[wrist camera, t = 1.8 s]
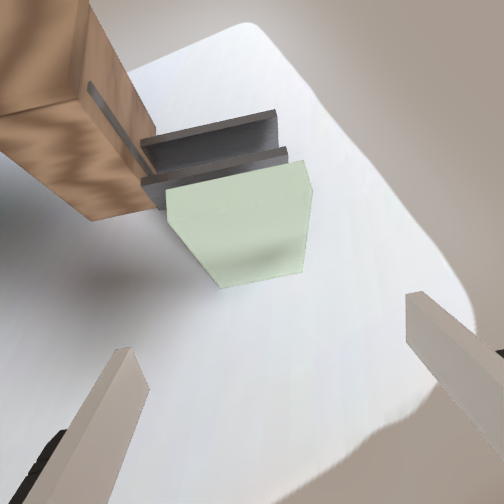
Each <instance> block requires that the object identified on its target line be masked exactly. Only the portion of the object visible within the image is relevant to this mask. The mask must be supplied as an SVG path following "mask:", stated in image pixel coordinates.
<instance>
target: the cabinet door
mask: <svg viewBox="0 0 504 504" xmlns="http://www.w3.org/2000/svg"><path fill="white" fill-rule="evenodd" d="M312 195H313V189H312V186H311V183H310V179H309V176H308V173H307V170H306V167H305V163H304V160H301V161H296V162H292V163H287V164H283V165H278V166H273V167H269V168H264V169H260V170H255V171H250V172H246V173H241V174H236V175H232V176H227V177H223V178H218V179H213V180H209V181H204V182H199V183H195V184H190V185H186V186H181V187H176V188H172V189H167V190H166V205H167V222H168V223H169V224H170V226H171V227H172V228H173V229H174V231H175V232H176V233H177V234H178V236H179V237H180V238H181V239H182V241H183V242H184V243H185V244H186V246H187V247H188V248H189V249H190V251H191V252H192V253H193V254H194V256H195V257H196V258H197V259H198V261H199V262H200V263H201V265H202V266H203V267H204V268H205V270H206V271H207V272H208V273H209V275H210V276H211V277H212V278H213V280H214V281H215V282H216V283H217V285H218V286H219V287H220V288H221V289H222V288H227V287H232V286H237V285H242V284H247V283H252V282H257V281H262V280H267V279H272V278H277V277H282V276H287V275H292V274H297V273H302V272H303V264H304V256H305V249H306V241H307V234H308V226H309V218H310V211H311V203H312Z"/></svg>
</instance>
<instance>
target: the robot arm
mask: <svg viewBox="0 0 504 504" xmlns="http://www.w3.org/2000/svg"><path fill="white" fill-rule="evenodd" d="M406 343H407V344H408V345H409V346H410V348H411V349H412V350H413V351H414V353H415V354H416V355H417V356H418V358H419V359H420V360H421V361H422V362H423V364H424V365H425V366H426V367H427V369H428V370H429V371H430V372H431V373H432V375H433V376H434V377H435V378H436V380H437V381H438V382H439V383H440V384H441V386H442V387H443V388H444V389H445V391H446V392H447V393H448V394H449V395H450V397H451V398H452V399H453V400H454V402H455V403H456V404H457V405H458V406H459V407H460V409H461V410H462V411H463V413H464V414H465V415H466V416H467V417H468V419H469V420H470V421H471V422H472V424H473V425H474V426H475V427H476V428H477V430H478V431H479V432H480V433H481V435H482V436H483V437H484V438H485V440H486V441H487V442H488V443H489V444H490V446H491V447H492V448H493V449H494V451H495V452H496V453H497V454H498V455H499V457H500V458H501V459H502V460H503V462H504V349H503V350H497V351H494V350H493V349H491V348H490V347H489V346H488V345H487V344H485V343H484V342H483V341H482V340H481V339H479V338H478V337H477V336H476V335H475V334H473V333H472V332H471V331H470V330H469V329H467V328H466V327H465V326H464V325H463V324H461V323H460V322H459V321H458V320H457V319H455V318H454V317H453V316H452V315H450V314H449V313H448V312H447V311H446V310H444V309H443V308H442V307H441V306H440V305H438V304H437V303H436V302H435V301H434V300H432V299H431V298H430V297H429V296H428V295H426V294H425V293H424V292H423V291H420V292H415V293H409V294H406ZM149 390H150V389H149V386H148V384H147V382H146V380H145V377H144V375H143V373H142V371H141V368H140V366H139V364H138V362H137V359H136V357H135V355H134V353H133V350H132V348H131V347H127V348H122V349H117V350H115V352H114V353H113V355H112V357H111V358H110V360H109V362H108V363H107V365H106V367H105V368H104V370H103V371H102V373H101V375H100V376H99V378H98V380H97V381H96V383H95V385H94V386H93V388H92V390H91V391H90V393H89V395H88V396H87V398H86V400H85V401H84V403H83V404H82V406H81V408H80V409H79V411H78V413H77V414H76V416H75V418H74V419H73V421H72V423H71V424H70V426H69V428H68V429H65V430H60V431H59V432H58V433H57V434H56V435H55V436H54V437H53V438H52V439H51V440H50V442H49V443H48V444H47V445H46V446H45V448H44V449H43V451H42V452H41V454H40V456H39V457H38V459H37V462H36V463H34V465H33V466H32V468H31V469H30V471H29V473H28V476H26V477H25V479H24V480H23V482H22V483H21V485H20V487H19V488H18V490H17V491H16V493H15V494H14V496H13V497H12V499H11V501H10V502H9V504H107V503H108V501H109V498H110V495H111V493H112V490H113V487H114V485H115V482H116V479H117V477H118V474H119V471H120V468H121V466H122V463H123V460H124V458H125V455H126V452H127V450H128V447H129V444H130V442H131V439H132V436H133V433H134V431H135V428H136V425H137V423H138V420H139V417H140V415H141V412H142V409H143V406H144V404H145V401H146V398H147V396H148V393H149Z"/></svg>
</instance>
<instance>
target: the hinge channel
mask: <svg viewBox="0 0 504 504" xmlns="http://www.w3.org/2000/svg"><path fill="white" fill-rule="evenodd" d="M140 148H141V149H142V151H143V152H144V154H145V155H146V157H147V158H148V160H149V161H150V163H151V164H152V166H153V167H154V169H155V170H156V172H157V174H156V175H151V176H147V177H142V178H141V188H142V189H143V190H144V191H145V193H146V194H147V195H148V197H149V198H150V199H151V200H152V202H153V203H154V204H155V205H156V207H157V208H158V209H159V210H163V209H167V205H166V190H167V189H172V188H176V187H181V186H186V185H190V184H195V183H199V182H204V181H209V180H213V179H218V178H223V177H227V176H232V175H236V174H241V173H246V172H250V171H255V170H260V169H264V168H269V167H273V166H278V165H283V164H287V163H288V152H287V149H286V146H284V147H280V148H279V145H278V123H277V114H276V110H275V109H274V110H269V111H265V112H260V113H256V114H251V115H247V116H242V117H238V118H234V119H229V120H225V121H220V122H216V123H211V124H207V125H202V126H198V127H193V128H189V129H184V130H180V131H176V132H171V133H167V134H162V135H158V136H153V137H149V138H144V139H140ZM274 148H275V149H274ZM265 150H266V151H265ZM260 151H261V152H260ZM256 152H257V153H256ZM251 153H252V154H251ZM247 154H248V155H247ZM242 155H243V156H242ZM233 157H234V158H233ZM228 158H229V159H228ZM224 159H225V160H224ZM219 160H220V161H219ZM210 162H211V163H210ZM201 164H202V165H201ZM196 165H197V166H196ZM192 166H193V167H192ZM187 167H188V168H187ZM178 169H179V170H178ZM173 170H174V171H173ZM169 171H170V172H169ZM164 172H165V173H164ZM160 173H161V174H160Z"/></svg>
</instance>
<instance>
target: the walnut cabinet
mask: <svg viewBox="0 0 504 504" xmlns="http://www.w3.org/2000/svg"><path fill="white" fill-rule="evenodd" d="M153 136H156V127H155V125H154V123H153V121H152V119H151V117H150V115H149V114H148V112H147V110H146V108H145V106H144V104H143V102H142V101H141V99H140V97H139V95H138V93H137V91H136V89H135V88H134V86H133V84H132V82H131V80H130V78H129V76H128V75H127V73H126V71H125V69H124V67H123V65H122V63H121V62H120V60H119V58H118V56H117V54H116V52H115V51H114V49H113V47H112V45H111V43H110V41H109V39H108V38H107V36H106V34H105V32H104V30H103V28H102V26H101V25H100V23H99V21H98V19H97V17H96V15H95V13H94V12H93V10H92V8H91V6H90V4H89V0H0V151H1V152H2V153H4V154H5V155H6V156H7V157H9V158H10V159H11V160H13V161H14V162H15V163H16V164H18V165H19V166H20V167H22V168H23V169H24V170H25V171H27V172H28V173H29V174H31V175H32V176H33V177H34V178H36V179H37V180H38V181H40V182H41V183H42V184H44V185H45V186H46V187H47V188H49V189H50V190H51V191H53V192H54V193H55V194H56V195H58V196H59V197H60V198H62V199H63V200H64V201H65V202H67V203H68V204H69V205H71V206H72V207H73V208H75V209H76V210H77V211H78V212H80V213H81V214H82V215H84V216H85V217H86V218H87V219H89V220H90V221H96V220H100V219H105V218H110V217H114V216H119V215H124V214H129V213H133V212H138V211H143V210H147V209H152V208H157V207H156V205H155V204H154V203H153V202H152V200H151V199H150V198H149V197H148V195H147V194H146V193H145V191H144V190H143V189H142V188H141V178H142V177H147V176H151V175H156V174H157V172H156V170H155V169H154V167H153V166H152V164H151V163H150V161H149V160H148V158H147V157H146V155H145V154H144V152H143V151H142V149H141V148H140V139H144V138H149V137H153Z"/></svg>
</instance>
